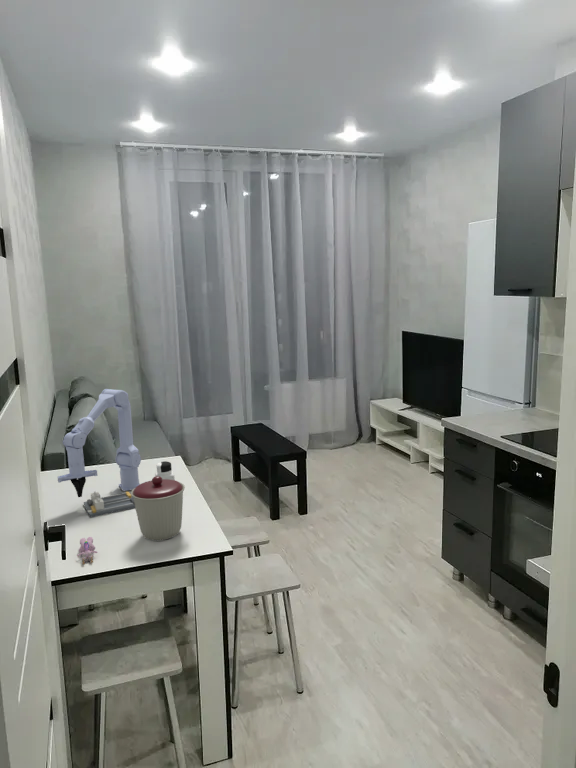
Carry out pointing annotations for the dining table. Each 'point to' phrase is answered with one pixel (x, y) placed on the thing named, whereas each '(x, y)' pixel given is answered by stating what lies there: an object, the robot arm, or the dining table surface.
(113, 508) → the switch board
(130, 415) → the robot arm
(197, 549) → the dining table surface
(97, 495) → the tab
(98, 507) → the tab
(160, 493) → the canister
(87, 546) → the rabbit figure
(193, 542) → the dining table surface
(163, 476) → the medicine bottle
